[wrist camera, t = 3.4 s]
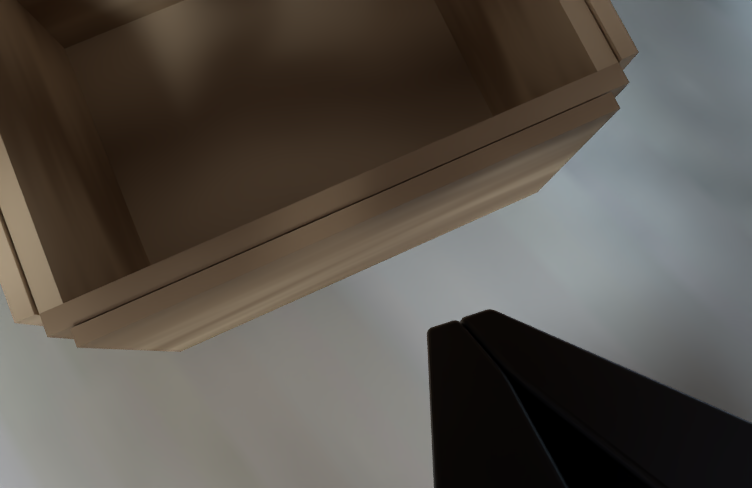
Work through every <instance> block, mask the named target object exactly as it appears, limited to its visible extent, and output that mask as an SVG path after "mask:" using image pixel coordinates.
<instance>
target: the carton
mask: <svg viewBox="0 0 752 488" xmlns="http://www.w3.org/2000/svg"><path fill="white" fill-rule="evenodd" d="M637 53H638V50H637V48H636V46H635V45H634V43H633V41H632V39H631V37H630V36H629V34H628V32H627V30H626V28H625V27H624V25H623V23H622V21H621V19H620V18H619V16H618V14H617V12H616V10H615V9H614V7H613V5H612V3H611V1H610V0H0V283H1V286H2V288H3V291H4V294H5V297H6V300H7V302H8V305H9V308H10V311H11V314H12V316H13V319H14V322H15V323H19V324H29V325H39V326H44V329H45V331H46V334H47V337H53V338H68V339H74V340H75V343H76V346H77V348H102V349H126V350H151V351H175V352H181V351H183V350H185V349H187V348H190V347H192V346H194V345H196V344H199V343H201V342H203V341H205V340H208V339H210V338H212V337H214V336H217V335H219V334H221V333H223V332H226V331H228V330H230V329H232V328H234V327H237V326H239V325H241V324H243V323H246V322H248V321H250V320H252V319H255V318H257V317H259V316H261V315H264V314H266V313H268V312H270V311H273V310H275V309H277V308H279V307H281V306H284V305H286V304H288V303H290V302H293V301H295V300H297V299H299V298H302V297H304V296H306V295H308V294H311V293H313V292H315V291H317V290H320V289H322V288H324V287H326V286H328V285H331V284H333V283H335V282H337V281H340V280H342V279H344V278H346V277H349V276H351V275H353V274H355V273H358V272H360V271H362V270H364V269H367V268H369V267H371V266H373V265H375V264H378V263H380V262H382V261H384V260H387V259H389V258H391V257H393V256H396V255H398V254H400V253H402V252H405V251H407V250H409V249H411V248H414V247H416V246H418V245H420V244H422V243H425V242H427V241H429V240H431V239H434V238H436V237H438V236H440V235H443V234H445V233H447V232H449V231H452V230H454V229H456V228H458V227H461V226H463V225H465V224H467V223H469V222H472V221H474V220H476V219H478V218H481V217H483V216H485V215H487V214H490V213H492V212H494V211H496V210H499V209H501V208H503V207H505V206H508V205H510V204H512V203H514V202H516V201H519V200H521V199H523V198H525V197H528V196H530V195H532V194H534V193H537V192H538V191H539V190H540V189H541V188H542V187H543V186H544V185H545V184H546V183H547V182H548V181H549V180H550V179H551V178H552V177H553V176H554V175H555V174H556V173H557V172H558V171H559V170H560V169H561V168H562V167H563V166H564V165H565V164H566V163H567V162H568V161H569V160H570V159H571V158H572V157H573V156H574V155H575V154H576V152H577V151H578V150H579V149H580V148H581V147H582V146H583V145H584V144H585V143H586V142H587V141H588V140H589V139H590V138H591V137H592V136H593V135H594V134H595V133H596V132H597V131H598V130H599V129H600V128H601V127H602V126H603V125H604V124H605V123H606V122H607V121H608V120H609V119H610V118H611V117H612V116H613V115H614V114H615V113H616V112H617V111H618V110H619V109H620V107H619V105H618V103H617V101H616V99H615V97H616V96H617V95H618V94H619V93H620V92H621V91H622V90H623V89H624V88H625V87H626V85H627V84H628V83H629V81H628V79H627V77H626V75H625V74H624V72H623V70H624V68H625V67H626V66H627V65H628V64H629V63H630V62H631V60H632V59H633V58H634V57H635V56H636V55H637Z"/></svg>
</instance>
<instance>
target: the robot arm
mask: <svg viewBox="0 0 752 488" xmlns="http://www.w3.org/2000/svg"><path fill="white" fill-rule="evenodd" d="M427 345H428V367H429V389H430V411H431V433H432V455H433V477H434V488H752V423H751V422H749V421H746V420H744V419H742V418H739V417H737V416H735V415H733V414H730V413H728V412H726V411H723V410H721V409H719V408H717V407H714V406H712V405H710V404H707V403H705V402H703V401H701V400H698V399H696V398H694V397H691V396H689V395H687V394H685V393H682V392H680V391H678V390H675V389H673V388H671V387H669V386H666V385H664V384H662V383H660V382H657V381H655V380H653V379H650V378H648V377H646V376H644V375H641V374H639V373H637V372H634V371H632V370H630V369H628V368H625V367H623V366H621V365H618V364H616V363H614V362H612V361H609V360H607V359H605V358H602V357H600V356H598V355H596V354H593V353H591V352H589V351H586V350H584V349H582V348H580V347H577V346H575V345H573V344H570V343H568V342H566V341H564V340H561V339H559V338H557V337H554V336H552V335H550V334H548V333H545V332H543V331H541V330H539V329H536V328H534V327H532V326H529V325H527V324H525V323H523V322H520V321H518V320H516V319H513V318H511V317H509V316H507V315H504V314H502V313H500V312H497V311H495V310H490V309H489V310H484V311H481V312H478V313H475V314H472V315H469V316H466V317H464V318H462V320H461V321H460V322H459V321H450V322H447V323H444V324H441V325H438V326H435V327H432V328H430V329H429V330H428V332H427Z"/></svg>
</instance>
